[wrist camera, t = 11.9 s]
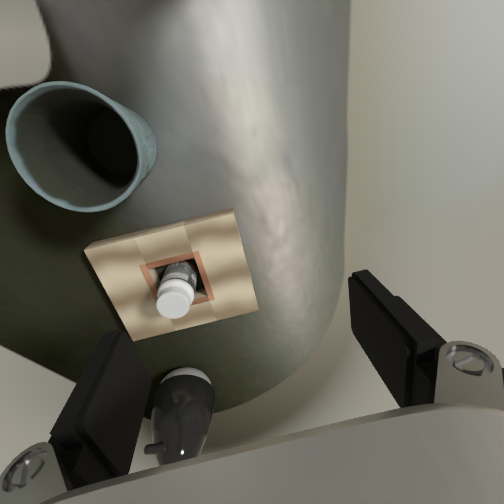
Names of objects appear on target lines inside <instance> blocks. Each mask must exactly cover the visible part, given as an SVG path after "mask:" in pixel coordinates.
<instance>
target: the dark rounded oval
mask: <svg viewBox="0 0 504 504" xmlns="http://www.w3.org/2000/svg"><path fill="white" fill-rule="evenodd" d="M214 402H215V392H214V389H213V387H212V385H211V382H210V380H209V379H208V377H207V376H206V375H205V374H204V373H203V372H202V371H200V370H198V369H195V368H191V367H184V368H179V369H176V370H174V371H172V372H170V373H169V374H168V375H167V376H166V377H165V378H164V379H163V380H162V382H161V383H160V384H159V385H158V387H157V388H156V390H155V393H154V397H153V402H152V414H151V429H152V440H153V444H148V445H146V446H145V448H144V453H145V454H147V455H150V454H151V455H155V456H156V459H157V462H158V464H159V466H162V465H166V464H170V463H174V462H178V461H182V460H186V459H190V458H194V457H198V456H199V454H200V452H201V450H202V448H203V445H204V443H205V440H206V437H207V434H208V431H209V427H210V424H211V420H212V415H213V409H214Z"/></svg>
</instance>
